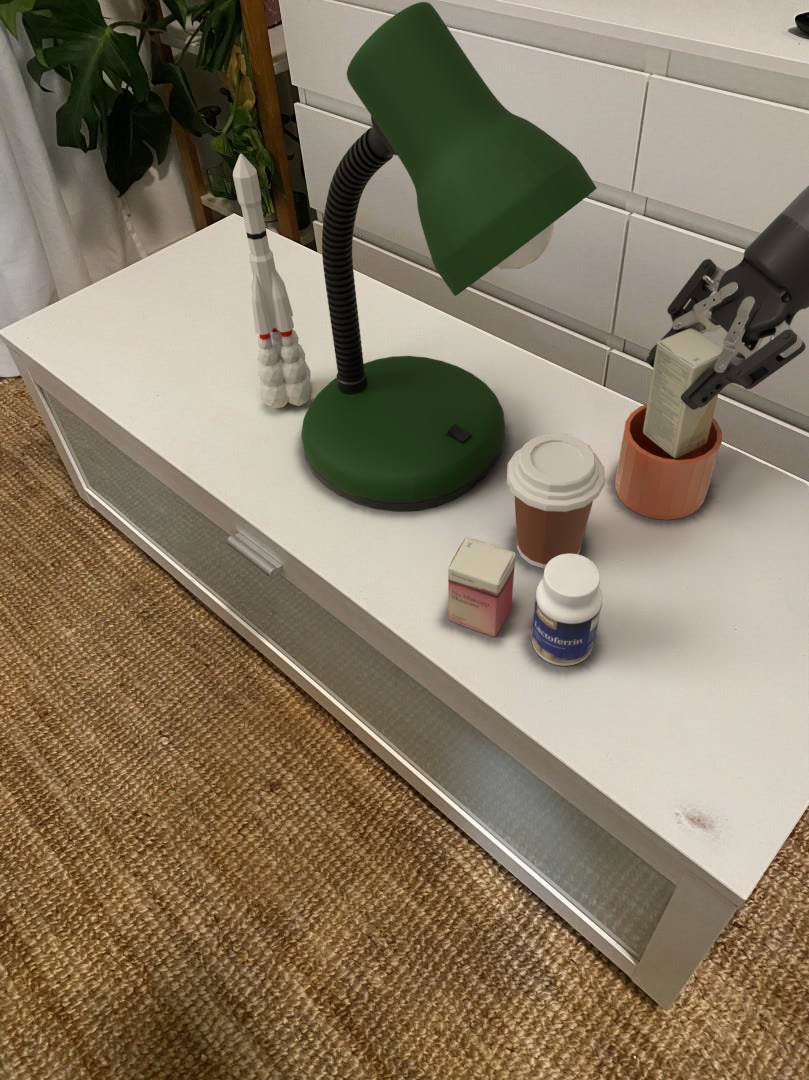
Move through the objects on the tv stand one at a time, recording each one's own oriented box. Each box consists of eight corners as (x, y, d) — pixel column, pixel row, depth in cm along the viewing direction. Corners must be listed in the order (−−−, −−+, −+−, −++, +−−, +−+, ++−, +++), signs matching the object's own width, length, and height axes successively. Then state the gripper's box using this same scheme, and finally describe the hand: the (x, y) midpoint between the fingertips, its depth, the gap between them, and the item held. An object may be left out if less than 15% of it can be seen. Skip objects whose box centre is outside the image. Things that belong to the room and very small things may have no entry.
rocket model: (330, 392, 106) (293, 148, 84) (290, 425, 102) (240, 178, 80) (286, 372, 109) (240, 132, 87) (246, 403, 105) (186, 160, 83)
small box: (447, 621, 82) (445, 567, 76) (465, 588, 84) (465, 534, 78) (496, 639, 80) (498, 585, 74) (513, 605, 82) (516, 551, 76)
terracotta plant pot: (717, 475, 93) (734, 417, 87) (688, 531, 87) (704, 474, 81) (634, 448, 96) (644, 391, 90) (601, 500, 91) (610, 444, 85)
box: (707, 444, 86) (732, 352, 77) (674, 460, 84) (695, 369, 76) (672, 415, 89) (692, 324, 80) (639, 431, 87) (656, 340, 79)
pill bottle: (523, 657, 78) (528, 589, 71) (540, 610, 82) (547, 541, 74) (585, 675, 77) (597, 608, 69) (600, 627, 80) (613, 557, 73)
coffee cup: (562, 594, 83) (573, 507, 74) (485, 551, 87) (487, 464, 78) (611, 537, 87) (627, 450, 78) (536, 500, 92) (543, 412, 83)
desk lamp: (603, 451, 96) (674, -7, 63) (486, 577, 85) (498, 101, 51) (390, 357, 110) (356, -59, 76) (266, 455, 99) (163, 17, 65)
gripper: (747, 181, 76) (610, 327, 83) (854, 258, 67) (690, 416, 74) (783, 224, 81) (651, 359, 88) (887, 302, 72) (731, 446, 79)
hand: (669, 384), depth 81 cm, fingers closed on box, 5 cm apart
